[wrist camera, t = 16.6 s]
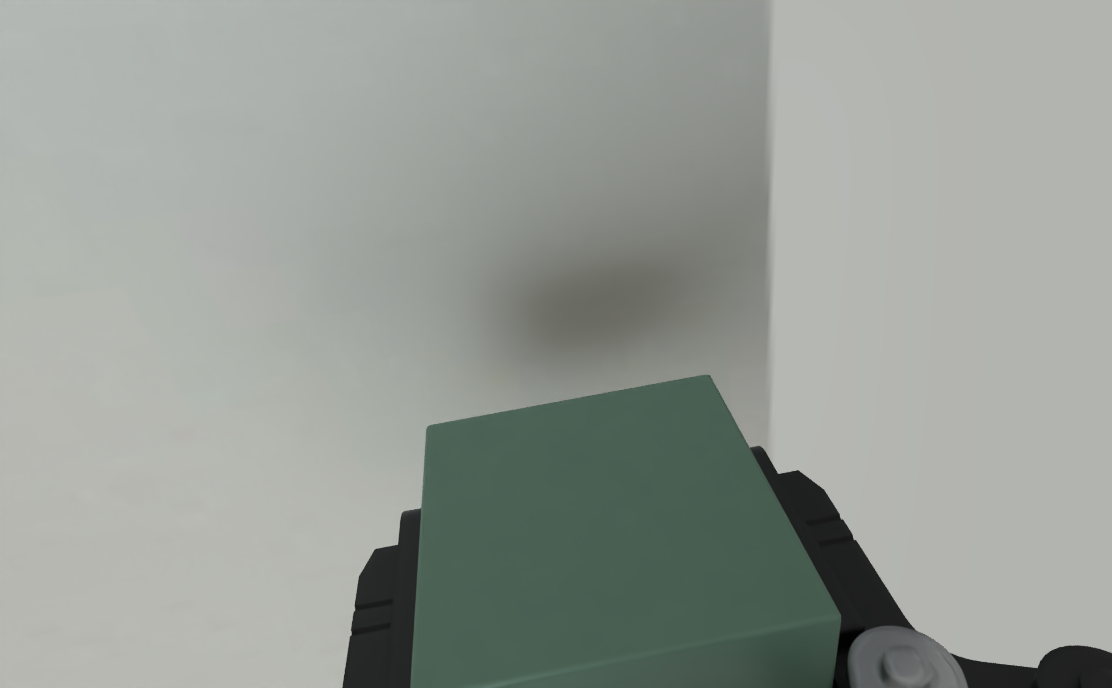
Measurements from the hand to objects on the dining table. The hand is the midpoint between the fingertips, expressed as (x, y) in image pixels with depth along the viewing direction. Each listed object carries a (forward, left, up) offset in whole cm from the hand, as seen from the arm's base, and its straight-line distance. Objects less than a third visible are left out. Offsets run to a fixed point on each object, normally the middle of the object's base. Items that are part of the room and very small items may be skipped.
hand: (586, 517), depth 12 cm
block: (0, 0, 0) cm, 0 cm away
